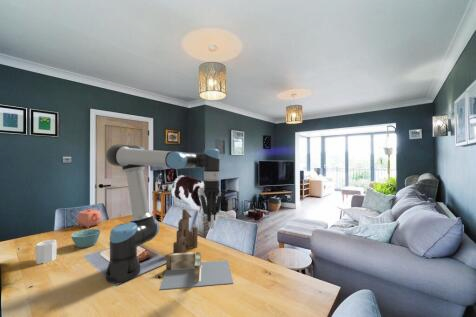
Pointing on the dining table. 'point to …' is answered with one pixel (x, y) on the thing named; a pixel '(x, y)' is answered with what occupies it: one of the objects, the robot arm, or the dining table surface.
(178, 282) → the card
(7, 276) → the dining table surface
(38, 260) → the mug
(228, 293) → the dining table surface
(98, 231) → the bowl
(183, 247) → the wooden toy
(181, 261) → the beige wooden panel
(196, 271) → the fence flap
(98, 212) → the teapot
